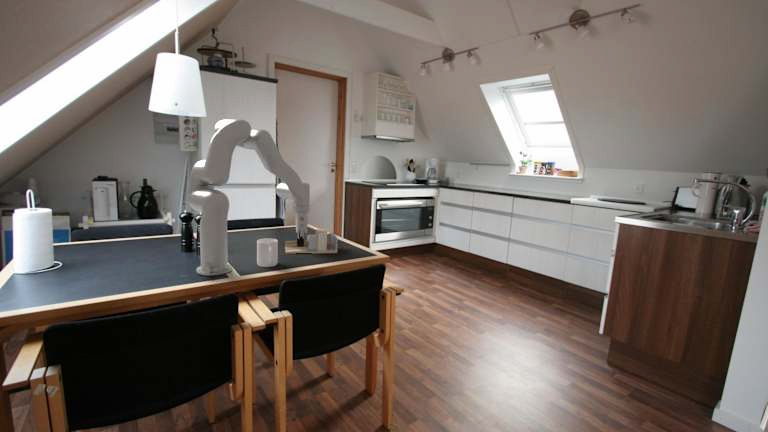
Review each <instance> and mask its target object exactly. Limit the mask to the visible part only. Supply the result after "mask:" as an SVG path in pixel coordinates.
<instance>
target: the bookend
mask: <svg viewBox="0 0 768 432" xmlns="http://www.w3.org/2000/svg"><path fill="white" fill-rule="evenodd" d="M306 241H307V247H308V250H317V236H316V234H307V237H306Z"/></svg>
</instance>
